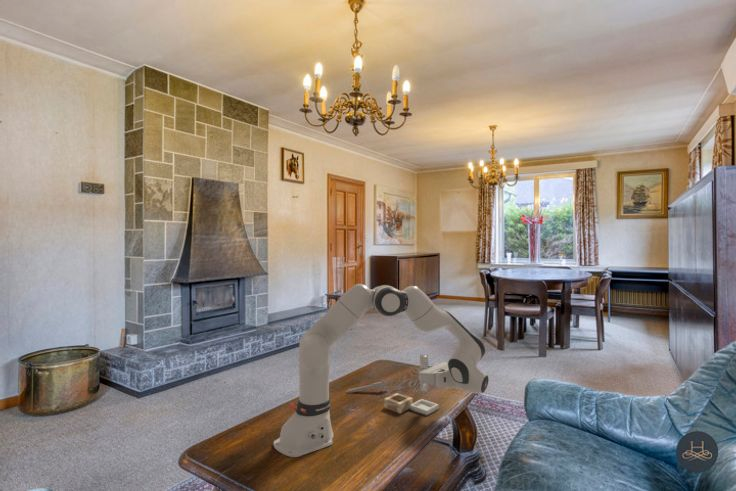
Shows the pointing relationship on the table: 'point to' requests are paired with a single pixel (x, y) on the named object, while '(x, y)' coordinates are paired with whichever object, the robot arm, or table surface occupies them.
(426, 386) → the grey rounded cylinder
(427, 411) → the tray
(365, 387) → the caliper
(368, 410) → the table surface
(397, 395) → the bore block
